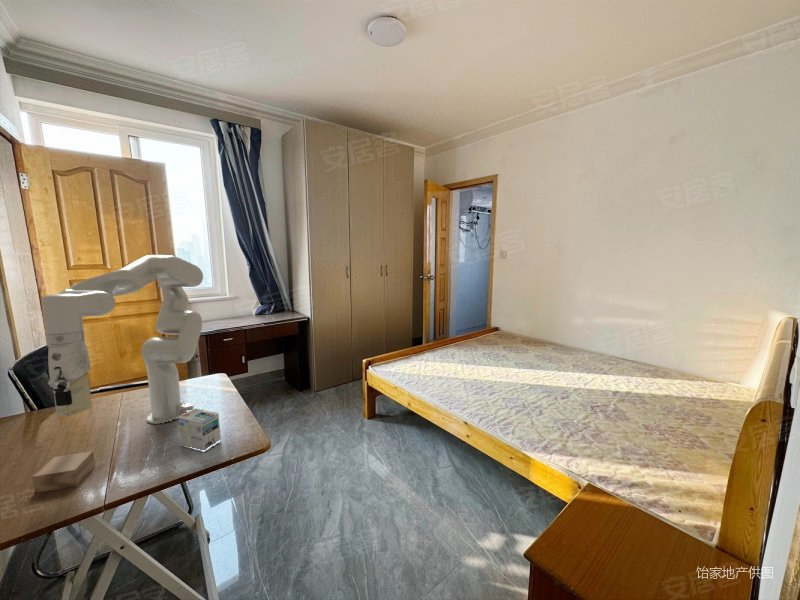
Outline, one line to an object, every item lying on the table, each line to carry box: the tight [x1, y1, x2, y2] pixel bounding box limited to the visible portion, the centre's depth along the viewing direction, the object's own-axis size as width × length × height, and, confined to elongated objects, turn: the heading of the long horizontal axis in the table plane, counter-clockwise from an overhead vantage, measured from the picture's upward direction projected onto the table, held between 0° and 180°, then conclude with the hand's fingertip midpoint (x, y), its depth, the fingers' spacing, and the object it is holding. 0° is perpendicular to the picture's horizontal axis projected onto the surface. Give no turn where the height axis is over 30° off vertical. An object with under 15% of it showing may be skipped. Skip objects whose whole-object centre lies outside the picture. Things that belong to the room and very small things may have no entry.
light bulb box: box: [177, 408, 222, 450], centre depth 110 cm, size 11×7×11 cm, turn 71°
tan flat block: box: [32, 451, 96, 493], centre depth 94 cm, size 9×9×5 cm
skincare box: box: [53, 368, 93, 417], centre depth 94 cm, size 6×4×12 cm
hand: (73, 398), depth 94 cm, fingers closed on skincare box, 7 cm apart
